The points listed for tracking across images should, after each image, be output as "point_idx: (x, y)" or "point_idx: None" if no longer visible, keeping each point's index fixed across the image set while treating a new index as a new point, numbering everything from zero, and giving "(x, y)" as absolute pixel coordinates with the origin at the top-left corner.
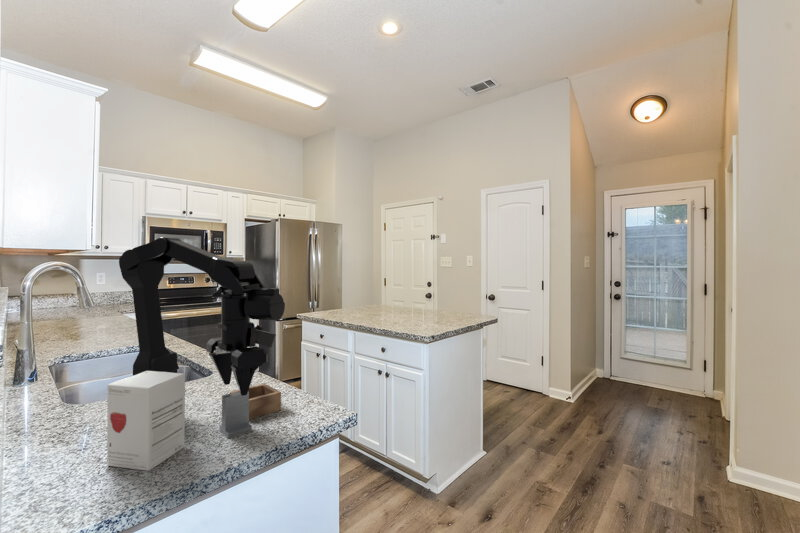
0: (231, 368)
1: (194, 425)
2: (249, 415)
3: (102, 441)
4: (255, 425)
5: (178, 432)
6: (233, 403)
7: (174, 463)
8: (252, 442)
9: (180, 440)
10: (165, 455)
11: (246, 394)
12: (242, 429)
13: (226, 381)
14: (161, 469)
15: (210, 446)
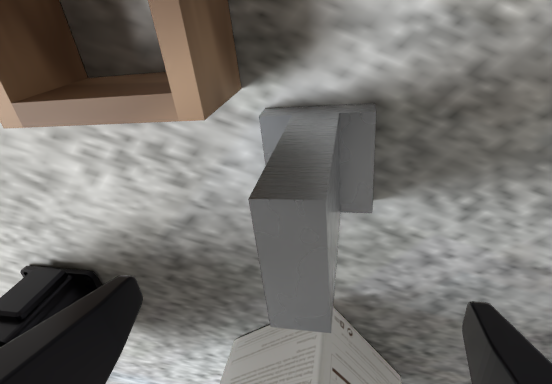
0: (22, 375)
1: (179, 237)
2: (231, 68)
3: (171, 374)
4: (325, 64)
5: (343, 371)
6: (332, 260)
7: (410, 340)
8: (494, 145)
9: (338, 336)
10: (373, 358)
11: (484, 303)
12: (373, 154)
13: (128, 312)
14: (417, 362)
15: (384, 257)
